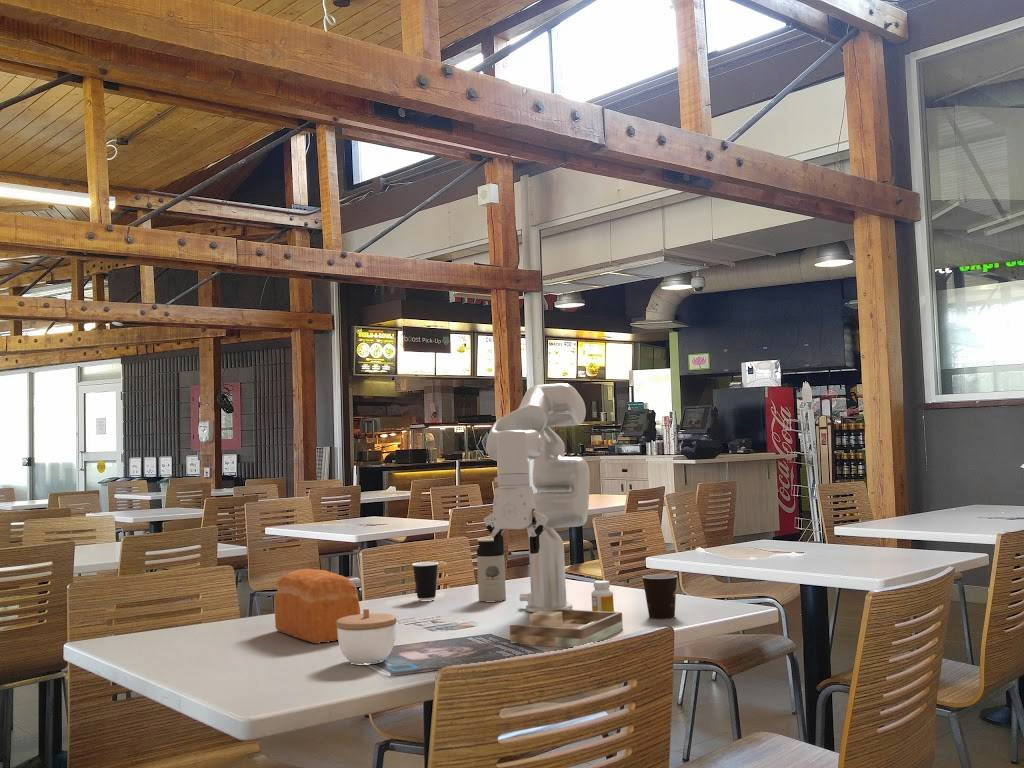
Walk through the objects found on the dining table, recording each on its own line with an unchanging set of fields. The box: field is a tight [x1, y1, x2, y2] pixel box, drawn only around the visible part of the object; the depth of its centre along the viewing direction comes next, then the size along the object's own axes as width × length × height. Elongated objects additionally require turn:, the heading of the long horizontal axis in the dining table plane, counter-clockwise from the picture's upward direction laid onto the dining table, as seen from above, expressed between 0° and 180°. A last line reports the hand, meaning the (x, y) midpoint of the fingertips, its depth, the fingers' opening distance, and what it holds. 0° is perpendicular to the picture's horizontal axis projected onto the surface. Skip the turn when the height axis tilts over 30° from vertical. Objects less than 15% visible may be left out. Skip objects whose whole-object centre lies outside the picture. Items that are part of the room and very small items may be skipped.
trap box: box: [509, 609, 624, 649], centre depth 215 cm, size 18×22×4 cm
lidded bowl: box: [336, 608, 397, 664], centre depth 197 cm, size 13×13×11 cm
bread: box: [273, 568, 361, 644], centre depth 232 cm, size 14×26×16 cm, turn 35°
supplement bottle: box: [591, 580, 615, 612], centre depth 232 cm, size 5×5×10 cm
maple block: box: [529, 611, 563, 627], centre depth 218 cm, size 6×5×3 cm
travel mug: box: [476, 536, 507, 602], centre depth 273 cm, size 8×8×18 cm
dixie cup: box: [411, 561, 439, 601], centre depth 278 cm, size 8×8×11 cm
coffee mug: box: [642, 573, 678, 620], centre depth 236 cm, size 12×9×10 cm
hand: (516, 553), depth 223 cm, fingers open, 9 cm apart
